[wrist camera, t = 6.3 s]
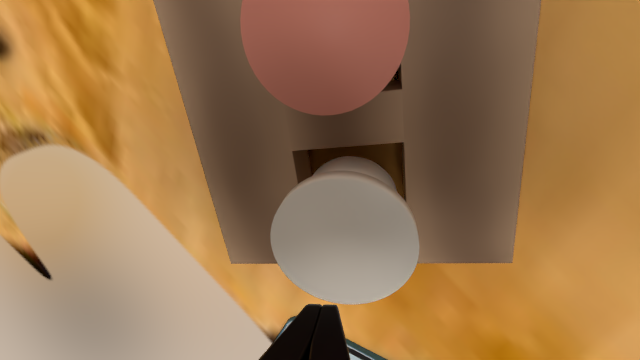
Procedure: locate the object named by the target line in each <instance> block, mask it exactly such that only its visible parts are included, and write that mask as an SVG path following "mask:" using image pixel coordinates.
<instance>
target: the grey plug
mask: <svg viewBox="0 0 640 360" xmlns="http://www.w3.org/2000/svg"><path fill="white" fill-rule="evenodd" d="M270 236H271V247H272V251H273V254H274V257H275V259H276V261H277V263H278V265H279V266H280V268H281V270H282V271H283V272H284V274H285V275H286V276H287V277H288V278H289V279H290V280H291V281H292V282H293V283H294V284H295V285H297V286H298V287H299V288H301V289H302V290H304V291H305V292H307V293H309V294H311V295H313V296H315V297H317V298H320V299H322V300H326V301H329V302H334V303H339V304H364V303H370V302H374V301H377V300H380V299H383V298H385V297H387V296H389V295H391V294H392V293H394V292H395V291H397V290H398V289H399V288H401V287H402V286H403V285H404V284H405V283H406V282H407V280H408V279H409V278H410V276H411V275H412V273H413V271H414V269H415V267H416V264H417V261H418V257H419V238H418V232H417V226H416V222H415V219H414V216H413V214H412V211H411V209H410V208H409V206H408V204H407V203H406V201H405V200H404V199H403V198H402V197H401V195H400V194H399V193H397V190H396V186H395V184H394V182H393V180H392V178H391V177H390V175H389V174H388V173H387V172H386V171H385V170H384V169H383V168H382V167H381V166H379V165H378V164H376V163H375V162H373V161H371V160H368V159H365V158H361V157H355V156H345V157H339V158H335V159H333V160H330V161H328V162H326V163H325V164H323V165H322V166H321V167H319V168H318V169H317V170H316V171H315V173H314V174H313V176H311V177H309V178H307V179H305V180H303V181H302V182H300V183H299V184H298V185H296V186H295V187H294V188H293V189H292V190H291V191H290V192H289V193H288V194H287V196H286V197H285V198H284V200H283V202H282V203H281V205H280V207H279V208H278V210H277V212H276V214H275V216H274V219H273V222H272V226H271V232H270Z"/></svg>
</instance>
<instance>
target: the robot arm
mask: <svg viewBox="0 0 640 360" xmlns="http://www.w3.org/2000/svg"><path fill="white" fill-rule="evenodd" d="M259 360H350V355H349V351H348V347H347V343H346V339H345V335H344V331H343V326H342V322H341V318H340V314H339V310H338V307H337V305H323V306H322V305H320V304H308V305H306V306H305V307H304V308H303V310H302V311H301V312H300V313H299V314H298V315H297V316H296V318H295V319H294V320H293V321H292V322H291V323H290V324H289V326H288V327H287V328H286V329H285V330H284V331H283V332H282V334H281V335H280V336H279V337H278V338H277V339H276V340H275V342H274V343H273V344H272V345H271V346H270V347H269V348H268V350H267V351H266V352H265V353H264V354H263V355H262V356H261V357H260V359H259Z"/></svg>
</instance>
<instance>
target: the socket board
mask: <svg viewBox="0 0 640 360" xmlns="http://www.w3.org/2000/svg"><path fill="white" fill-rule="evenodd" d="M153 1H154V4H155V8H156V11H157V14H158V18H159V21H160V24H161V28H162V31H163V35H164V38H165V41H166V45H167V48H168V51H169V55H170V58H171V62H172V65H173V68H174V72H175V75H176V79H177V82H178V85H179V89H180V92H181V95H182V99H183V102H184V106H185V109H186V112H187V116H188V119H189V122H190V126H191V129H192V133H193V136H194V139H195V143H196V146H197V150H198V153H199V156H200V160H201V163H202V166H203V170H204V173H205V177H206V180H207V183H208V187H209V190H210V193H211V197H212V200H213V204H214V207H215V210H216V214H217V217H218V221H219V224H220V227H221V231H222V234H223V237H224V241H225V244H226V248H227V251H228V254H229V258H230V261H231V264H269V263H277V261H276V259H275V257H274V254H273V251H272V247H271V236H270V232H271V226H272V222H273V219H274V216H275V214H276V212H277V210H278V208H279V207H280V205H281V203H282V202H283V200H284V198H285V197H286V196H287V194H288V193H289V192H290V191H291V190H292V189H293V188H294V187H295V186H296V185H298V184H299V183H300V182H302V181H303V180H305V179H307V178H309V177H311V176H312V172H311V166H310V159H309V153H308V150H310V149H323V148H336V147H348V146H361V145H374V144H387V143H399V142H402V166H403V189H404V200H405V201H406V203H407V204H408V206H409V208H410V209H411V211H412V214H413V216H414V219H415V222H416V226H417V232H418V238H419V257H418V261H417V263H512V260H513V251H514V242H515V233H516V224H517V215H518V206H519V197H520V188H521V178H522V169H523V160H524V151H525V142H526V133H527V124H528V115H529V106H530V97H531V88H532V78H533V69H534V60H535V51H536V42H537V33H538V24H539V15H540V6H541V0H408V2H409V11H410V30H409V37H408V43H407V46H406V50H405V53H404V56H403V59H402V61H401V63H400V66H399V68H398V71H399V80H395V81H390V82H389V83H388V84H387V86H386V87H385V88H384V89H383V90H382V91H381V92H380V93H379V94H378V95H377V96H375V97H374V98H373V99H372V100H370V101H369V102H367V103H366V104H364V105H362V106H361V107H358V108H356V109H354V110H352V111H349V112H345V113H342V114H336V115H323V116H322V115H312V114H308V113H303V112H300V111H298V110H295V109H293V108H291V107H289V106H287V105H285V104H283V103H282V102H280V101H279V100H278V99H276V98H275V97H274V96H273V95H272V94H271V93H269V92H268V91H267V90H266V88H265V87H264V86H263V85H262V84H261V83H260V81H259V80H258V78H257V77H256V75H255V74H254V72H253V70H252V68H251V66H250V64H249V62H248V59H247V57H246V54H245V50H244V47H243V43H242V36H241V25H240V16H241V6H242V0H153Z"/></svg>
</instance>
